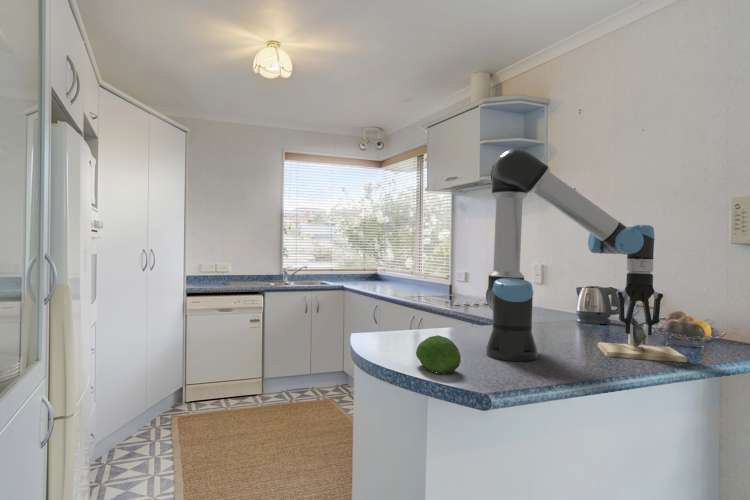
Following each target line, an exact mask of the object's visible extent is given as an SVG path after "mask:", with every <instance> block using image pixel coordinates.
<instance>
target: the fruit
mask: <svg viewBox="0 0 750 500" xmlns="http://www.w3.org/2000/svg"><path fill="white" fill-rule="evenodd" d="M460 353H461V352H460V350H459V349H458V347H457V345H456V344H455V342H454V341H452V340H451V339H450V338H448V337H445V336H441V335H432V336H428V337H427V338H426V339H424V340H423V341H421V342H420V343H419V344H418V346H417V348H416V350H415V354H416V355H415V356H416V357H417V359H418V360H419V362H420V364H421V366H423V367H424V368H425V369H426V370H427V369H428V370H427V371H429V370H430V371H433V372H437V373H450V374H452V373H454V372H455V371H456V370H457V369H458V368H459V367H460V364H461V361H462V360H461V354H460ZM430 371H429V372H430ZM433 372H432V373H433ZM437 373H436V374H437Z"/></svg>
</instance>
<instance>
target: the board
mask: <svg viewBox="0 0 750 500" xmlns="http://www.w3.org/2000/svg"><path fill="white" fill-rule="evenodd" d="M597 347H598V349H600V351H601V352H602V353H603V354H604V355H605V357H609V358H610V357H611V358H623V359H634V360H635V359H636V360H649V361H662V362H663V361H664V362H676V363H678V362H679V363H688V362H687V360H688V358H687V356H685V355H684V354H682V353H680V352H678V351H677V350H675V349H674V348H672V347H670V346H659V345H648V346H645V345H643V344H640V345H639V346H638V347H634V346H633V345H630V344H629V343H613V342H600V341H599V342H597Z"/></svg>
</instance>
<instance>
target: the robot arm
mask: <svg viewBox="0 0 750 500" xmlns="http://www.w3.org/2000/svg"><path fill="white" fill-rule="evenodd" d="M550 169H551V168H550V166H548V165H547V164H545V163H544V162H543V161H541V160H540V159H539V158H537V157H536V156H535V155H533V154H531V153H530V152H528V151H526V150H524V149H521V148H511V149H509V150H506V151H504V152H503V153H502V154H501V155H500V156H499V158H498V159H497V160H496V161H494V163H493V165H492V167H491V170H490V180H491V183H492V184H491V196H493V198H494V199H495V219H494V220H495V221H494V241H493V243H494V244H493V269H492V270H491V272H490V273H488V281H487V289H486V292H485V300H486V303H487V305H488V307H489V308H490V309H491V311H492V331H491V333H490V336H489V339H488V342H487V345H486V351H485V353H486V356H488V357H490V358H493V359H496V360H502V361H509V362H529V361H530V362H531V361H535V360H537V359H538V353H539V352H538V348H537V345H536V341H535V338H534V336H533V335H534V334H533V300H534V299H533V298H534V297H533V296H534V289H533V284H532V283H531V282H530V281H528V280H525V275H524V274H523V273H522V272H521V249H522V225H523V224H522V222H523V220H522V219H523V200H524V199H525V198H526V197H527V196H528V193H534V194H536V195H537V196H539V197H540V198H541V199H542V200H544V201H545V202H547V203H548V204H550V205H551V206H552V207H554V208H555V209H557V210H558V211H559V212H560V213H562V214H564V215H565V216H566V217H568V218H569V219H570V220H572V221H573V222H574V223H576V224H578V225H579V227H581V228H582V229H585V230H586V231H587V232H588V233H589V234H588V240H587V246H588V250H589V251H590V252H591V253H592V254H600V255H601V254H610V255H612V254H613V255H614V254H615V255H616V254H619V255H626V261H627V262H626V271H627V273H626V285H625V287H624V289H623V290H617V291H616V292H615V293H616V297H617V298H618V303H617V305H618V320H619V321H620V322H621V323H624V333H625V334H626V335H628V337H627V341H628V342H627V344H630V345H633V324H630V323H631V319H632V317H633V315H634V311H635V306H636V304H637V302H641V304H642V308H643V314H644V319H645V323H644V324H643V325H642V329H643V332H644V334H645V335H646V336H647V337H646V338H645V339H644V340H643V341H642V345H645V346H649V336H652V334H653V333H652V332H653V331H652V330H653V325H658V324H659V323H660V314H661V313H660V311H661V301H662V300H663V299H662V298H663V297H664V294H663V293H661V292H658V291H656V290H655V288H654V274H653V272H654V252H655V251H654V250H655V248H654V247H655V228H654V227H653V226H652V225H650V224H630V225H628V226H626V225H625V224H623V223H622V222H620V221H619V220H617V219H616V218H614V217H613V216H612V215H610V213H608V212H606V211H605V210H604V209H602V208H600V207H599V206H598V205H596V204H595V203H594V202H592V201H591V200H589V199H588V198H587V197H585V196H584V195H583V194H581V193H580V192H578V191H577V190H576V189H574V188H573V187H572V186H570V185H568V184H567V183H566V182H564V181H563V180H562V179H561V178H559V177H557V176H556V175H555V174H553V173H552V172H551V171H550ZM626 295H627V296H628V298H629V301H628V307H627V311H626V315H625V297H626ZM652 296H653V298H654V300H653V307H652V308H653V309H652V314H651V310H650V302H649V299H650V298H651V297H652Z"/></svg>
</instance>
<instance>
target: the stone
mask: <svg viewBox="0 0 750 500" xmlns="http://www.w3.org/2000/svg"><path fill="white" fill-rule="evenodd" d="M630 324H633V346H634V347H638V346H639V345H641V343H643V340H644V339H645V338H646V337H647V336H646V335H645V334H644V332H643V327H642V326H641V324H639V322H638V321H637V320H636V318H635V317H633V316H632V319H631V323H630Z"/></svg>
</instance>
